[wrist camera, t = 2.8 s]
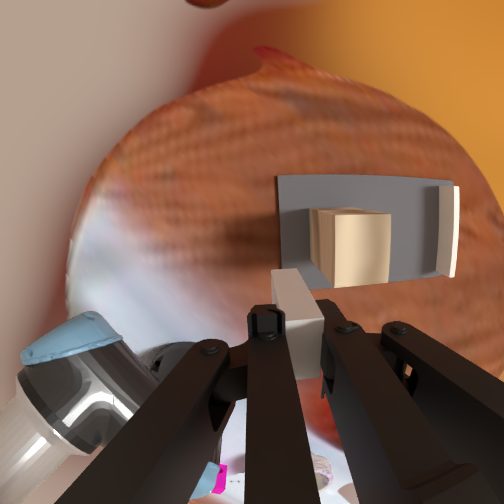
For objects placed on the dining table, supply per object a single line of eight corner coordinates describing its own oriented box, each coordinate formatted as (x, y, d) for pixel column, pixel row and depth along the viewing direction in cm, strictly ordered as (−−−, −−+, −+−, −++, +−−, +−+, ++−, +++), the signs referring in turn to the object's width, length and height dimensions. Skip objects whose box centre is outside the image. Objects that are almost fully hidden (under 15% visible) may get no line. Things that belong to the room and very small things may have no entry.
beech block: (310, 258, 37) (334, 287, 26) (308, 208, 36) (335, 215, 24) (350, 256, 37) (388, 282, 26) (350, 207, 36) (390, 214, 24)
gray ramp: (282, 290, 39) (282, 291, 38) (277, 175, 35) (277, 175, 35) (448, 273, 38) (449, 274, 38) (451, 181, 35) (453, 181, 35)
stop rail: (435, 270, 38) (449, 277, 34) (438, 185, 35) (453, 186, 31) (440, 270, 38) (454, 276, 34) (444, 186, 35) (458, 186, 31)
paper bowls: (248, 465, 48) (247, 491, 40) (292, 435, 46) (297, 464, 38) (296, 479, 50) (299, 502, 42) (340, 452, 48) (347, 476, 40)
